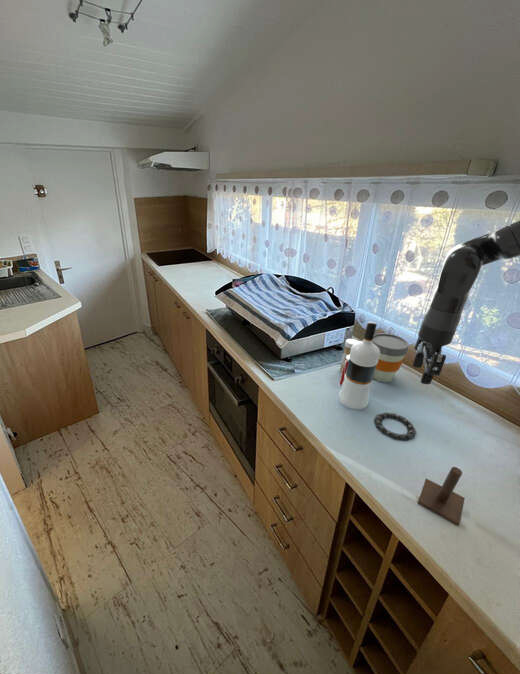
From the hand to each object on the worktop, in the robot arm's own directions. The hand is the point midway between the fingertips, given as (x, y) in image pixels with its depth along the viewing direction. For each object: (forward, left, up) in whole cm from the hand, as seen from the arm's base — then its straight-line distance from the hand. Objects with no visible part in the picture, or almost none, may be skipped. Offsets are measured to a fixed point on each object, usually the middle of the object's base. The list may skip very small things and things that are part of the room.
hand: (420, 374), depth 87 cm
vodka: (+15, +1, -18) cm, 24 cm away
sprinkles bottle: (+24, -16, -18) cm, 34 cm away
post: (-14, +23, -18) cm, 32 cm away
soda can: (+20, -7, -18) cm, 28 cm away
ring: (+1, +5, -17) cm, 18 cm away
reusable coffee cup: (+13, -22, -18) cm, 31 cm away
